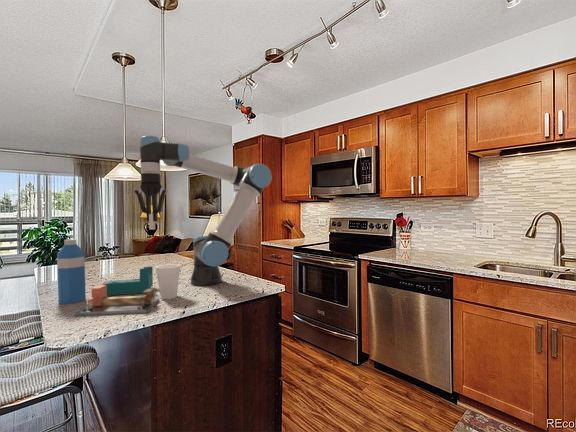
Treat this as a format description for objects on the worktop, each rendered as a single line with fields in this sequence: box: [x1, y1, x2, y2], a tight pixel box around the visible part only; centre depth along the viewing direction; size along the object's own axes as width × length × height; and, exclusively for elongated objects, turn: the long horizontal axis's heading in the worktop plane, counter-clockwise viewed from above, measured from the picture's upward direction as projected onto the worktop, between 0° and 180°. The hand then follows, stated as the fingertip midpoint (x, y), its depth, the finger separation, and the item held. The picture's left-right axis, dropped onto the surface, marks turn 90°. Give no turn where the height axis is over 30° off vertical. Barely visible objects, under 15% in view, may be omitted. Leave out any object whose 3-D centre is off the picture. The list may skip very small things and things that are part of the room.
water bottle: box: [56, 238, 87, 305], centre depth 128 cm, size 9×9×25 cm
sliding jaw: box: [87, 284, 108, 309], centre depth 115 cm, size 3×9×6 cm, turn 5°
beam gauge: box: [87, 287, 155, 307], centre depth 115 cm, size 23×9×5 cm, turn 95°
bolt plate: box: [74, 298, 160, 317], centre depth 116 cm, size 24×14×1 cm, turn 95°
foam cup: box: [155, 263, 181, 300], centre depth 130 cm, size 10×9×13 cm
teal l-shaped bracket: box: [102, 266, 154, 297], centre depth 141 cm, size 18×11×10 cm, turn 105°
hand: (152, 229), depth 132 cm, fingers closed
